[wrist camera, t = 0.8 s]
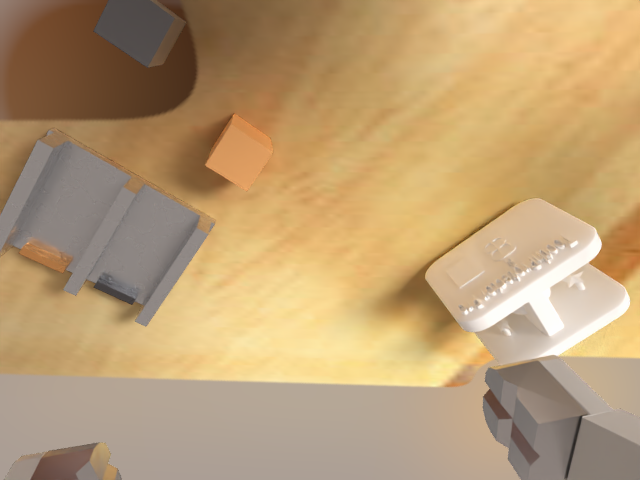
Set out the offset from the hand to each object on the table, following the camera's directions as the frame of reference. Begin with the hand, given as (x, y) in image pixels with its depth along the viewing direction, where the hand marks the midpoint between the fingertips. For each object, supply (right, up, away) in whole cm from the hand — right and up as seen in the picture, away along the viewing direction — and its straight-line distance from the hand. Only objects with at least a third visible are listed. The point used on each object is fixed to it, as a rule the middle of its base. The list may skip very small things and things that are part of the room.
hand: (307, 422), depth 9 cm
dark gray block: (-14, +22, +26) cm, 36 cm away
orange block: (-7, +13, +31) cm, 34 cm away
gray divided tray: (-20, +5, +32) cm, 38 cm away
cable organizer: (+20, +2, +41) cm, 45 cm away
